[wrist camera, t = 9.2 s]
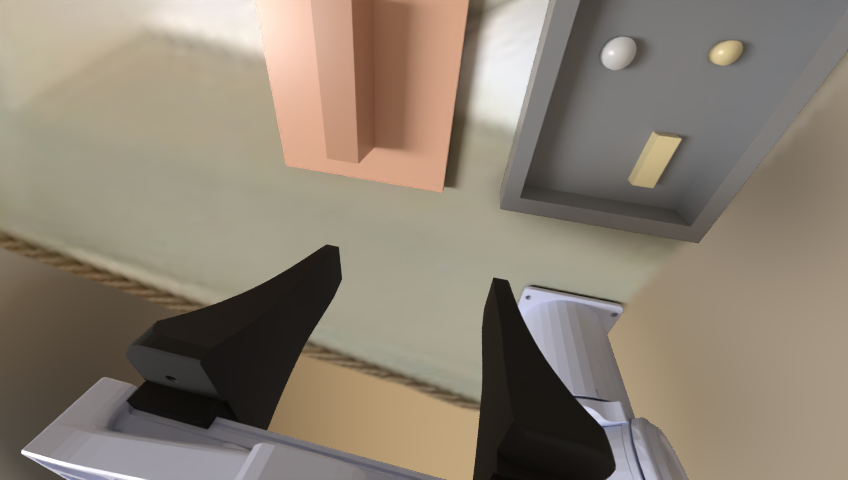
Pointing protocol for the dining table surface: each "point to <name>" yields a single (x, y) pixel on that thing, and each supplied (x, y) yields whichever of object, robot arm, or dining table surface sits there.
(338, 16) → the lid
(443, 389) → the dining table surface
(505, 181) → the tub
